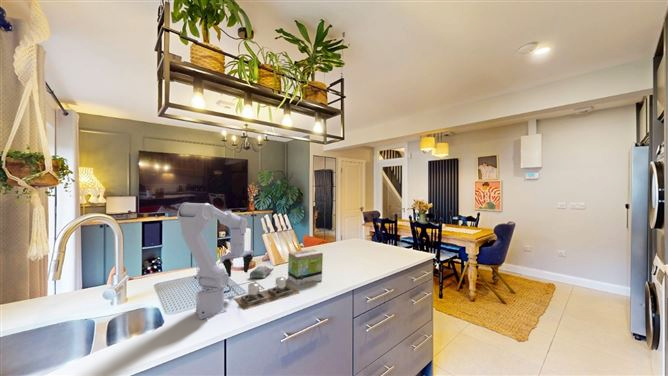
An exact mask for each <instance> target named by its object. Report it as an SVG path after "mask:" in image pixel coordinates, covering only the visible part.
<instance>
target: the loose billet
mask: <svg viewBox="0 0 668 376" xmlns="http://www.w3.org/2000/svg"><path fill="white" fill-rule="evenodd" d="M259 285H260V283H259V282H257V283H255V282H250V283H248V286H247V292H248V293H247V294H248V300H249V301H254V300H257V299H259V291H260V290H259V289H260V286H259Z"/></svg>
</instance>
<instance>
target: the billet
mask: <svg viewBox="0 0 668 376" xmlns="http://www.w3.org/2000/svg"><path fill="white" fill-rule="evenodd" d="M286 283H287V278H286V277H284V276H278V277H276V278H275V287H276V293H277V294H278V293H282V292H286V285H287V284H286Z"/></svg>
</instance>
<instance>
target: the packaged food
mask: <svg viewBox="0 0 668 376" xmlns="http://www.w3.org/2000/svg"><path fill="white" fill-rule="evenodd" d="M272 271H274V268H271V267H269V266H267V265H264V266H258V267H256V268H255V269H254V270H252V271H251V272H250V274H249V278H250V279H252V278H253V279H266V277H267V276H268V275H270V273H272Z"/></svg>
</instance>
